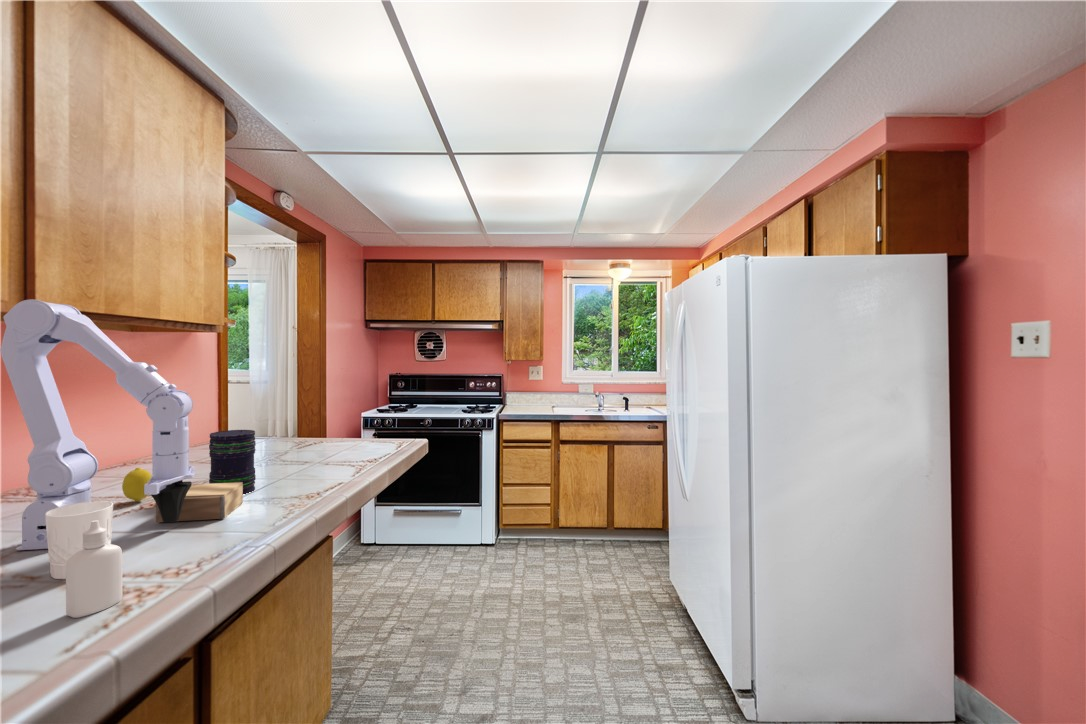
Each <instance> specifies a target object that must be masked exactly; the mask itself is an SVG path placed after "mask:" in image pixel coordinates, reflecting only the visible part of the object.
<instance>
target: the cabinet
mask: <svg viewBox="0 0 1086 724" xmlns="http://www.w3.org/2000/svg"><path fill="white" fill-rule="evenodd" d="M210 496H225V518H226V517H227V515H228V516H229V515H230V514H231V512H232V511H233V510H234V511H235V510H237V509H238V508H239V507H240V506H242V505H243V504H244V503H243V501H244V497H243V496H244V495H243V482H237V483H214V484H209V483H196V484H195V483H193V484H192V485H191V487H190V489H189V490H188V492H187V494H186V496H185V498H189V497H210ZM242 503H243V504H242ZM241 504H242V505H241ZM238 506H239V507H238ZM237 507H238V508H237ZM236 508H237V509H236ZM234 511H233V512H234Z"/></svg>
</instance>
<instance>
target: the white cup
mask: <svg viewBox="0 0 1086 724" xmlns="http://www.w3.org/2000/svg"><path fill="white" fill-rule="evenodd" d="M113 515H114V502H112V501H108V500H107V501H106V500H94V501H93V500H91V502H82V503H76V504H70V505H66V506H62V507H58V508H55V509H52V510H50V511H48V512H46V514H45V518H46V532H47V546H48V548H47V550H48V551H47V552H48V553H47V554H48V560H49V571H50V577H52V579H54V580H66V563H67V560H68V559H69V558H70V557H71V556H73V555H74V554H76V553H77V552H79V551H81V550H83V549H84V548H83V533H84V532H85V531H87V530H89V529H90V525H91V522H92V521H94V520H98V521H99V525H100V527H101V528H105V529H107V544H112V537H113V536H112V535H113V519H114V517H113Z"/></svg>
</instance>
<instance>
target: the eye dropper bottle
mask: <svg viewBox="0 0 1086 724" xmlns="http://www.w3.org/2000/svg"><path fill="white" fill-rule="evenodd" d="M83 548H84V549H83V550H81V551H79V552H77V553H76V554H74V555H73V556H71V557H70V558H69V559H68V560H67V563H66V579H65V614H66V615H67V616H69V617H71V618H73V619H79V618H83V617H86V616H90V615H93V614H96V613H98V612H101V611H104V610H106V609H108V608H111V607H113V606H115V605H117V604H118V603H119V602H121V600H123V550H122V548H121V547H120V546H119V545H117V544H112V543H111V544H107V529H105V528H101V527H100V525H99V521H98V520H94V521H92V522H91V525H90V529H89V530H87V531H85V532H84V533H83Z"/></svg>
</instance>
